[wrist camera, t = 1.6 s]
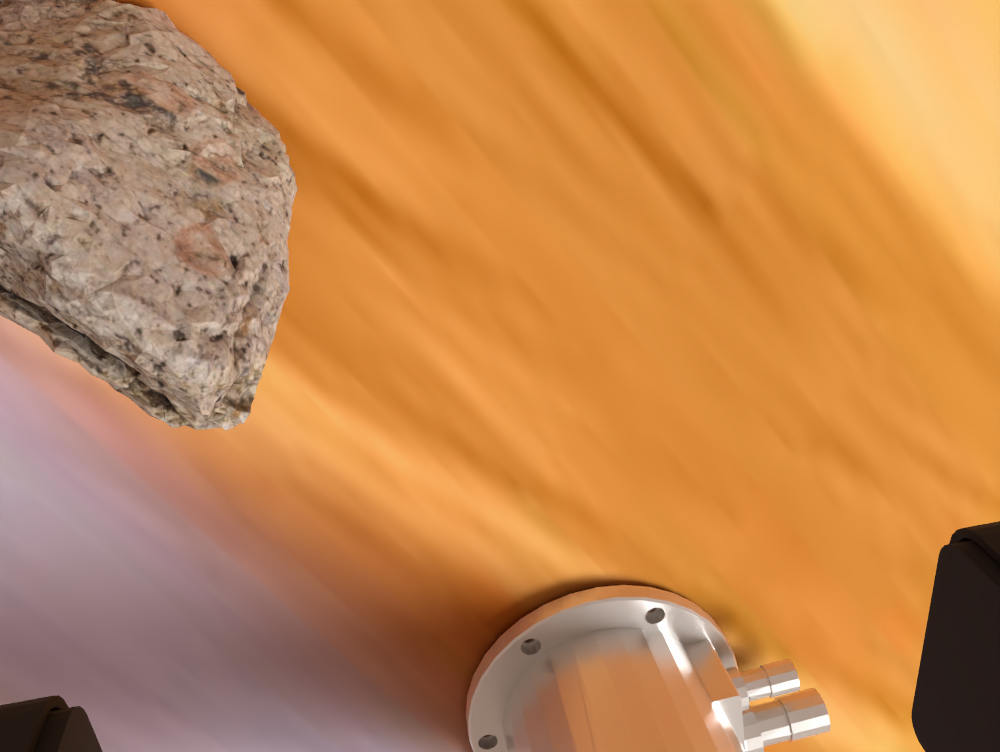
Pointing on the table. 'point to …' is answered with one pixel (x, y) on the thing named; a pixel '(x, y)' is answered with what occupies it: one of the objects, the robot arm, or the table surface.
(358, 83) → the table surface
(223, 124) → the rock
